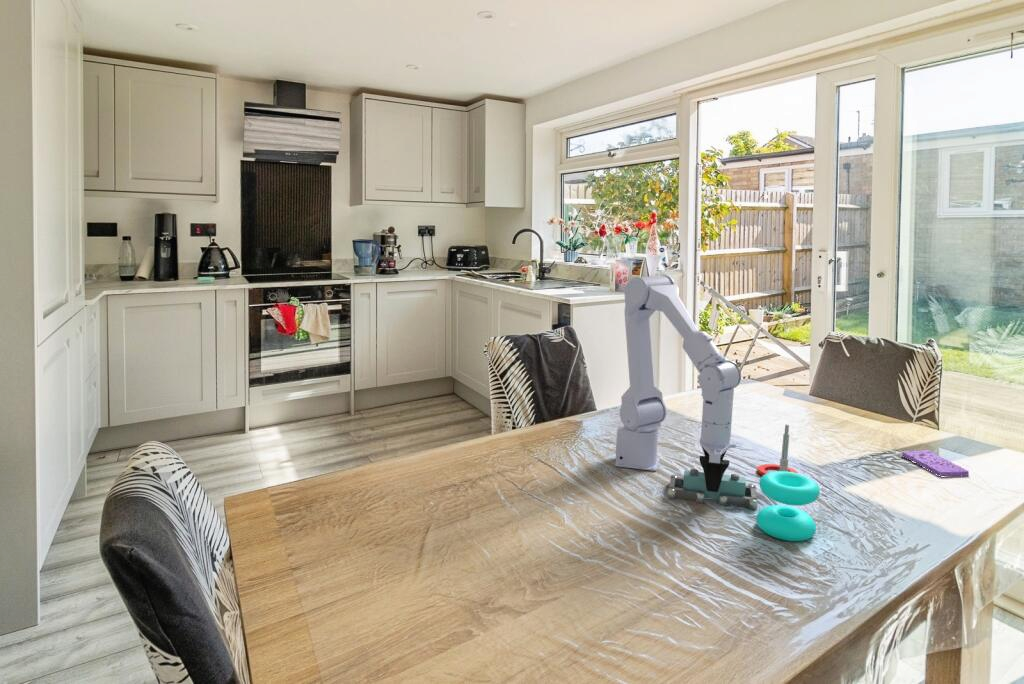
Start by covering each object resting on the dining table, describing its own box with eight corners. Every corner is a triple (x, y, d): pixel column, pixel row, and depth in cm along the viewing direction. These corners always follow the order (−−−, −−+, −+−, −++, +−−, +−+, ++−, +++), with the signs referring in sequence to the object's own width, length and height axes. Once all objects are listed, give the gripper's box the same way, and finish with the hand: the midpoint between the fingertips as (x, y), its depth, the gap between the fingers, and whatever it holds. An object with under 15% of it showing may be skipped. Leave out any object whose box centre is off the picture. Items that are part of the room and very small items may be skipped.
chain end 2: (718, 505, 123) (719, 497, 123) (718, 488, 131) (719, 480, 131) (757, 510, 121) (758, 502, 121) (754, 492, 129) (755, 484, 129)
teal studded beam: (682, 496, 128) (684, 472, 127) (683, 490, 131) (684, 466, 130) (744, 504, 124) (746, 479, 123) (743, 497, 127) (745, 473, 126)
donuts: (802, 468, 117) (832, 490, 107) (797, 516, 118) (826, 543, 109) (750, 469, 116) (775, 491, 106) (746, 518, 118) (771, 545, 108)
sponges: (928, 457, 150) (929, 449, 149) (969, 478, 137) (970, 470, 137) (900, 458, 149) (901, 450, 149) (939, 479, 137) (940, 471, 137)
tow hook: (753, 467, 143) (763, 482, 134) (757, 413, 141) (767, 424, 132) (791, 470, 142) (803, 484, 133) (795, 415, 140) (809, 427, 131)
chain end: (667, 498, 126) (667, 490, 126) (670, 482, 134) (670, 474, 134) (704, 503, 124) (704, 495, 124) (705, 486, 132) (705, 478, 132)
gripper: (738, 434, 116) (733, 500, 119) (736, 412, 130) (732, 472, 133) (699, 430, 119) (695, 495, 121) (701, 408, 132) (698, 468, 135)
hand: (712, 483), depth 127 cm, fingers open, 7 cm apart
